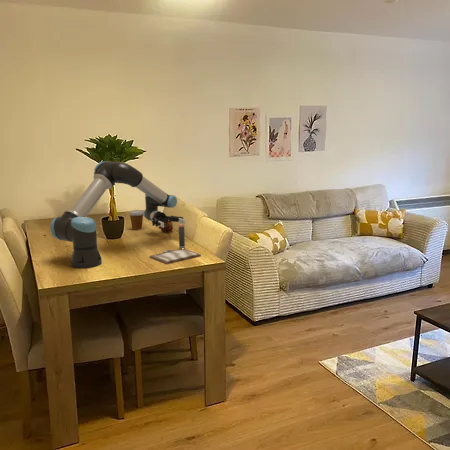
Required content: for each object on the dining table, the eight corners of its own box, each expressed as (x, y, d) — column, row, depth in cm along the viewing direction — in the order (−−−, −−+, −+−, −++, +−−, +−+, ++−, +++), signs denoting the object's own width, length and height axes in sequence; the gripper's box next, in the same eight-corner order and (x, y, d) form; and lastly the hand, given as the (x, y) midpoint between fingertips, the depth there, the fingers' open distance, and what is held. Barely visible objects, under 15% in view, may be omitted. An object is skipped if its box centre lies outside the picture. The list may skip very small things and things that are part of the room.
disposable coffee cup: (141, 230, 311) (140, 213, 309) (127, 230, 313) (126, 212, 311) (146, 227, 320) (145, 210, 318) (133, 227, 322) (132, 210, 320)
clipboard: (166, 264, 238) (166, 260, 238) (149, 257, 250) (149, 253, 250) (200, 256, 252) (200, 252, 252) (183, 250, 264) (183, 246, 264)
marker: (181, 249, 266) (180, 225, 263) (177, 248, 269) (177, 224, 266) (186, 248, 268) (185, 224, 265) (182, 247, 271) (182, 223, 268)
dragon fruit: (168, 236, 302) (163, 235, 313) (178, 227, 305) (172, 226, 316) (160, 226, 300) (154, 225, 310) (170, 217, 302) (164, 217, 313)
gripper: (176, 220, 299) (193, 227, 282) (140, 226, 286) (154, 233, 268) (176, 209, 297) (192, 214, 280) (139, 213, 284) (154, 220, 267)
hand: (174, 223), depth 274 cm, fingers open, 13 cm apart
